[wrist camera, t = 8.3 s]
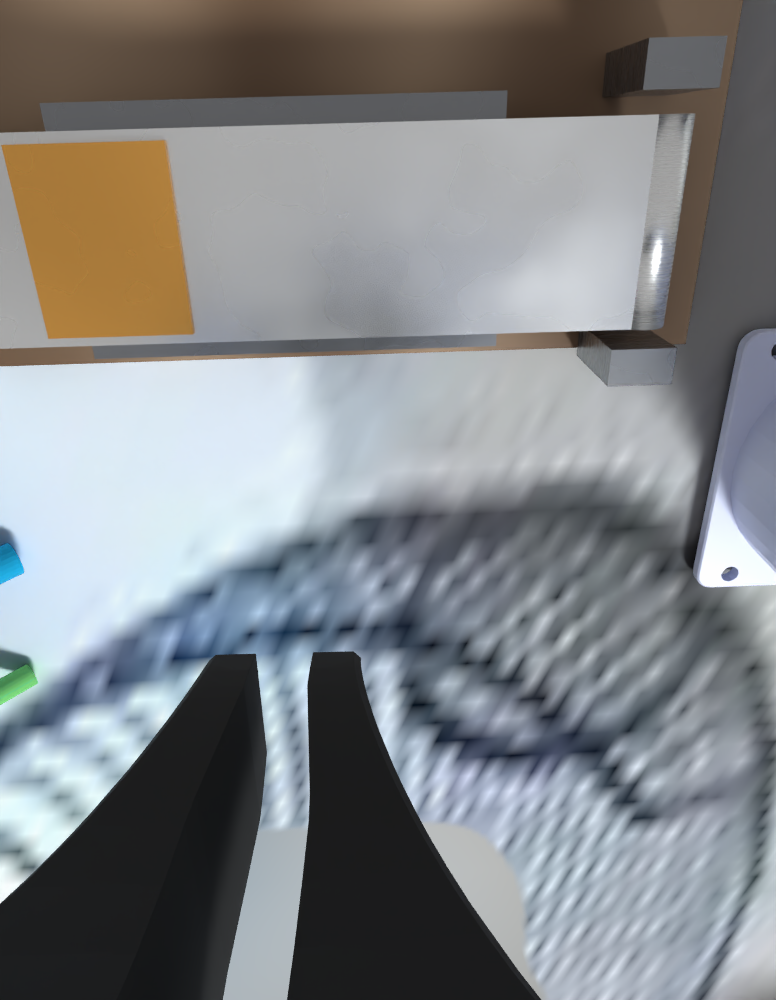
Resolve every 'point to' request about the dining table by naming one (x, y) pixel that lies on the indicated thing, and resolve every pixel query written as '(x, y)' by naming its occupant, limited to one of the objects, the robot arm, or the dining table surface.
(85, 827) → the robot arm
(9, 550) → the gear
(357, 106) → the hardware
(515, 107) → the board
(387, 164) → the strap
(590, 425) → the dining table surface
